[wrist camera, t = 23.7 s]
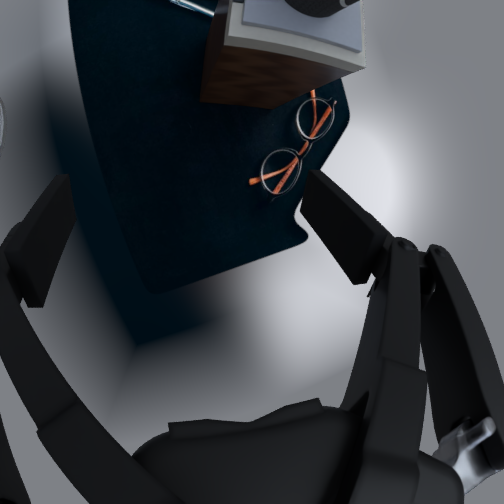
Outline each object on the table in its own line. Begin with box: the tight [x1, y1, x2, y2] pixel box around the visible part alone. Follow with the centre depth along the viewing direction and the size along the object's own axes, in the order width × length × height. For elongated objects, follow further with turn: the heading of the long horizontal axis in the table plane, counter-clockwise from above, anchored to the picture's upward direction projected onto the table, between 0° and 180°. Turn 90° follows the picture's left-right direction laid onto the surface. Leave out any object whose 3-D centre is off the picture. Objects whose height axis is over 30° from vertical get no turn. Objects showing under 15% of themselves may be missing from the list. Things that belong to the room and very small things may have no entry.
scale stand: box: [199, 0, 353, 109], centre depth 35 cm, size 14×14×28 cm
